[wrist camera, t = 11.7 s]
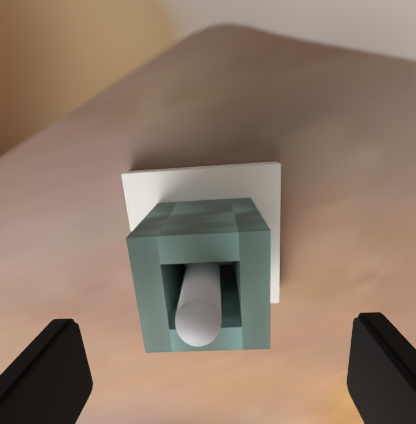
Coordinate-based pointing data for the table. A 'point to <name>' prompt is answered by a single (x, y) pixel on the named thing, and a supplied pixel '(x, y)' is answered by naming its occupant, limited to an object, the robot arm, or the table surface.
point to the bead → (199, 253)
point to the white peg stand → (208, 190)
